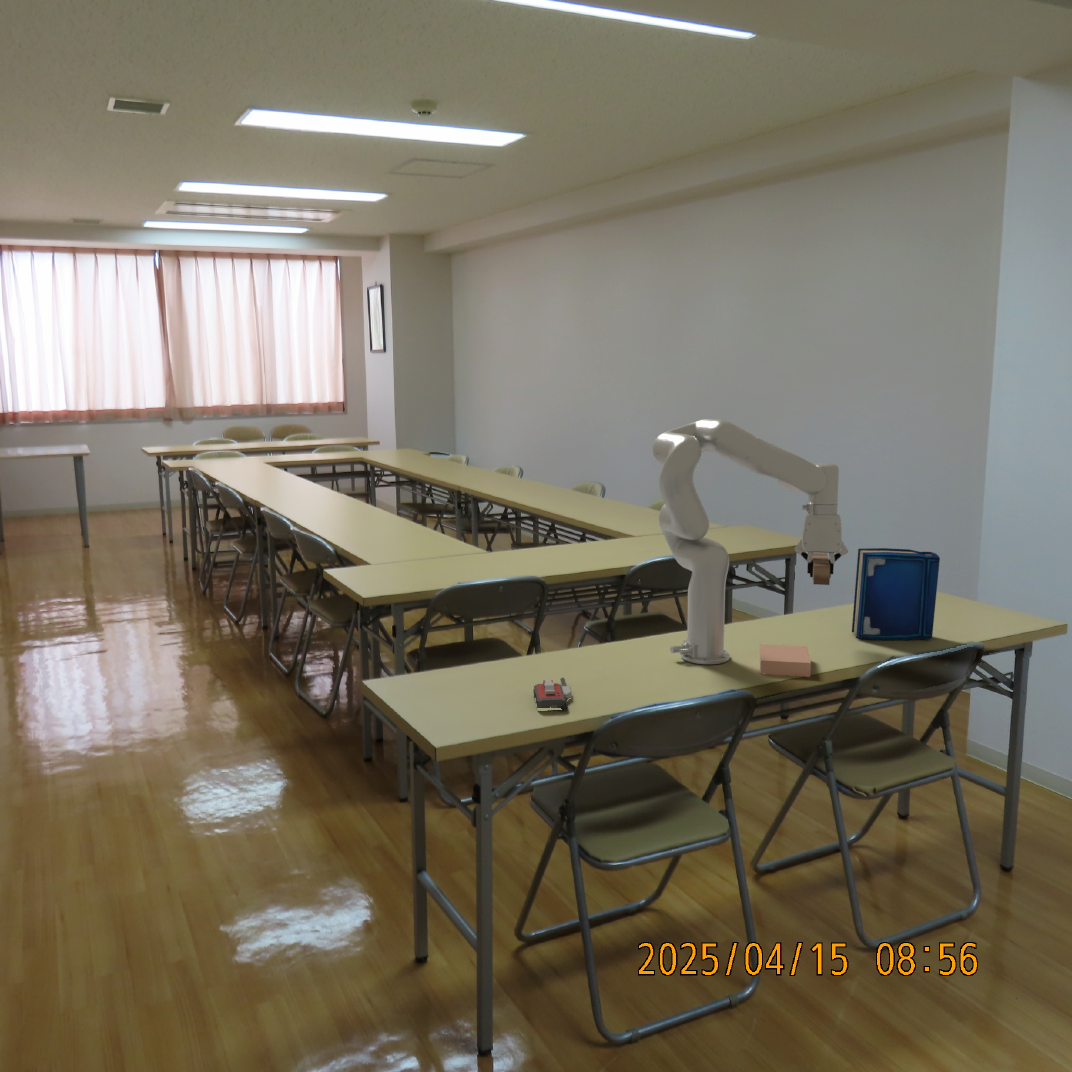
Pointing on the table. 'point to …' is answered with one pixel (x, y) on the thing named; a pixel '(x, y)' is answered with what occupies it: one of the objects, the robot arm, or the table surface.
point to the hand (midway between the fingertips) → (820, 575)
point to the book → (895, 594)
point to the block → (821, 569)
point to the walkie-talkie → (552, 694)
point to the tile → (785, 660)
